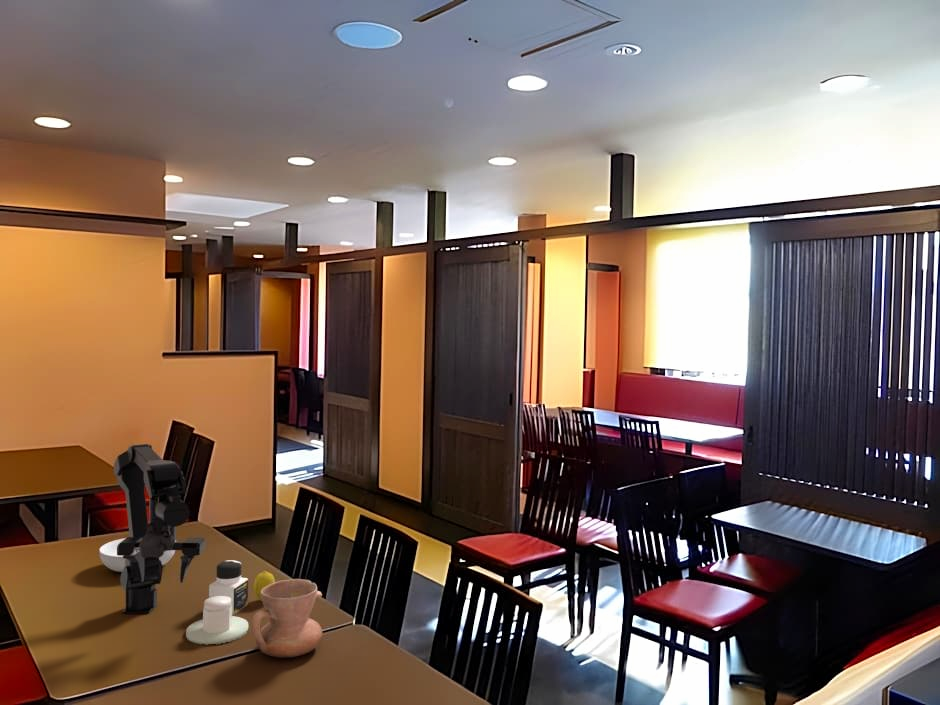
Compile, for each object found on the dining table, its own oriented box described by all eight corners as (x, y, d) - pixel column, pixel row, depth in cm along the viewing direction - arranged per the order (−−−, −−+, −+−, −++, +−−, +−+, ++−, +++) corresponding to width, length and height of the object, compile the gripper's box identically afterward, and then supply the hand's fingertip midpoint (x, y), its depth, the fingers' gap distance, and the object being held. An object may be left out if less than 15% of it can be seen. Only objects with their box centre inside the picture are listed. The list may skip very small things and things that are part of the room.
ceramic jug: (302, 628, 174) (301, 570, 174) (339, 646, 165) (339, 585, 164) (234, 654, 161) (233, 591, 160) (270, 675, 151) (270, 609, 151)
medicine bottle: (234, 615, 181) (234, 568, 180) (208, 612, 182) (208, 565, 182) (248, 604, 188) (248, 559, 187) (223, 602, 189) (223, 557, 189)
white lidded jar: (200, 633, 168) (200, 605, 168) (208, 622, 174) (208, 595, 174) (227, 633, 168) (227, 605, 168) (233, 622, 174) (234, 595, 174)
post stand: (177, 645, 164) (177, 621, 163) (196, 619, 178) (196, 597, 177) (240, 644, 165) (240, 620, 165) (254, 619, 179) (254, 597, 178)
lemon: (279, 598, 192) (279, 569, 192) (267, 606, 187) (267, 575, 187) (261, 595, 194) (262, 566, 194) (249, 603, 189) (249, 573, 189)
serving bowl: (191, 565, 217) (191, 543, 216) (125, 586, 199) (126, 561, 199) (149, 552, 228) (149, 530, 227) (84, 570, 210) (84, 547, 210)
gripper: (106, 526, 160) (106, 595, 161) (192, 526, 162) (191, 594, 162) (126, 513, 171) (126, 577, 172) (206, 513, 173) (206, 577, 173)
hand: (161, 582), depth 170 cm, fingers open, 9 cm apart
